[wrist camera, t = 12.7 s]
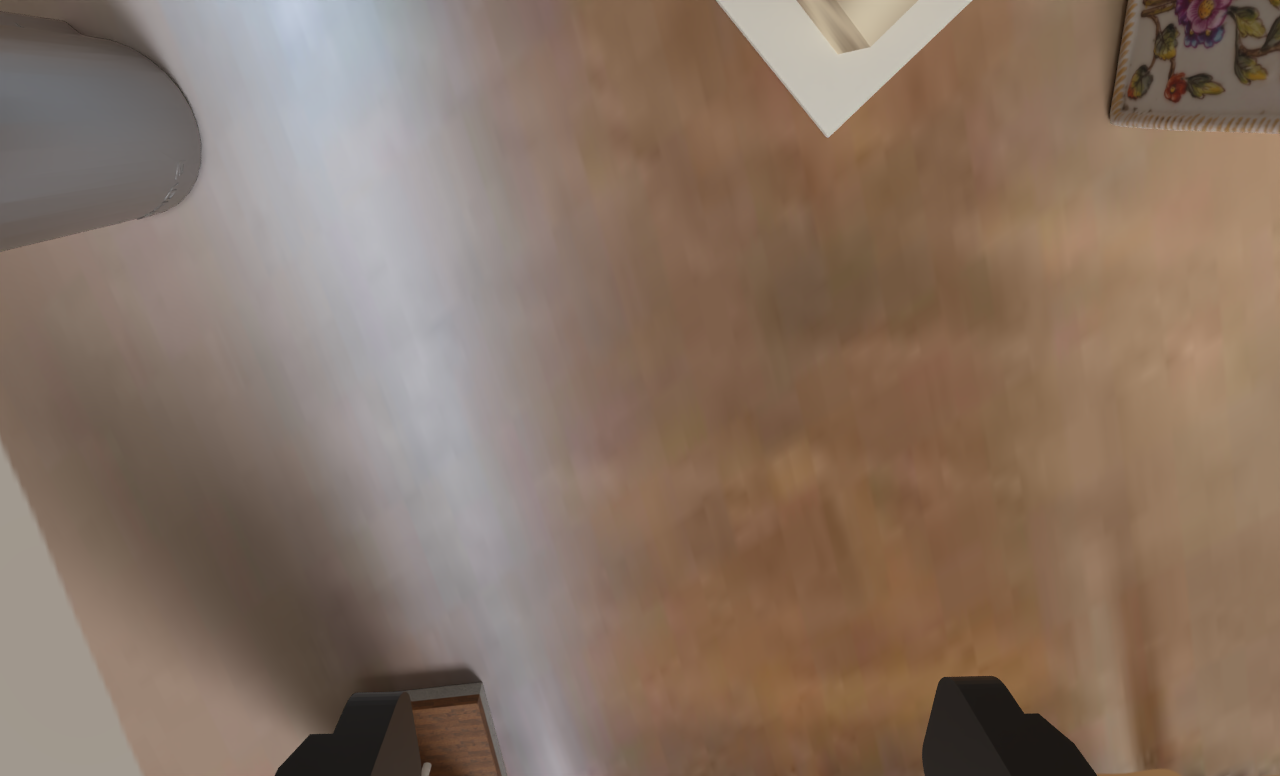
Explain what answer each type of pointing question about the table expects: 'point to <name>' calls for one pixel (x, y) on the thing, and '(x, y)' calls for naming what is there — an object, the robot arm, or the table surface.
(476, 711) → the display case
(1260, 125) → the decorative jar
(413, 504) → the table surface
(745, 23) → the pad
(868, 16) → the base block
